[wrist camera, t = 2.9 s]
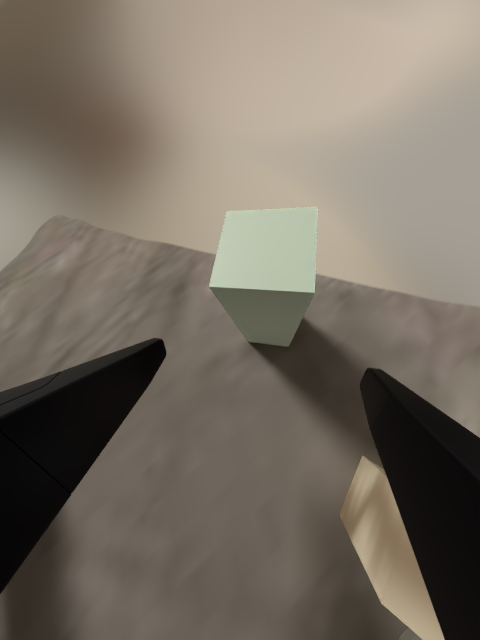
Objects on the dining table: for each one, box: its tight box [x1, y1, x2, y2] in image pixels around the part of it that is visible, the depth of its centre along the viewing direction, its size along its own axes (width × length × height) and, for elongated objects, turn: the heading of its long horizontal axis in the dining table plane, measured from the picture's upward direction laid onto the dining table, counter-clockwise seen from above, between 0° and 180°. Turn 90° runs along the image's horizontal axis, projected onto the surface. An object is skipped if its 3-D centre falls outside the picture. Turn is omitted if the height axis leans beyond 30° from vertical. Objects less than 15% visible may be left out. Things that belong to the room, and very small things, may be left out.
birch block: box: [339, 455, 445, 640], centre depth 11 cm, size 5×5×6 cm
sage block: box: [209, 207, 318, 347], centre depth 14 cm, size 5×5×13 cm
